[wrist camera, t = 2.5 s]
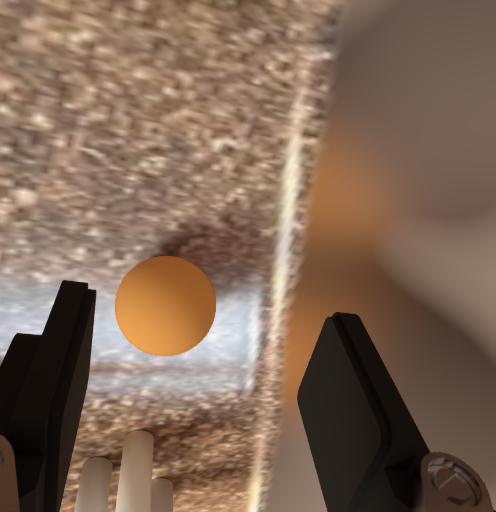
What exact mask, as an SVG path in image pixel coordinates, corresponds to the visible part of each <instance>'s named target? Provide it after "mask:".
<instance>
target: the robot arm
mask: <svg viewBox="0 0 496 512" xmlns="http://www.w3.org/2000/svg"><path fill="white" fill-rule="evenodd" d="M95 303H96V290H91V289H88V283H84V282H75V281H67V280H63V281H62V283H61V286H60V289H59V291H58V294H57V297H56V299H55V302H54V304H53V307H52V310H51V312H50V315H49V318H48V320H47V323H46V326H45V328H44V331H43V333H42V335H33V334H22V333H17V334H16V335H15V336H14V338H13V340H12V342H11V344H10V346H9V349H8V351H7V353H6V355H5V357H4V360H3V362H2V364H1V366H0V512H59V511H60V507H61V502H62V498H63V493H64V489H65V484H66V480H67V475H68V471H69V466H70V462H71V457H72V453H73V448H74V444H75V439H76V435H77V430H78V426H79V421H80V417H81V412H82V408H83V403H84V399H85V394H86V390H87V384H88V378H89V369H90V358H91V347H92V336H93V325H94V314H95ZM297 400H298V406H299V409H300V413H301V417H302V420H303V424H304V428H305V431H306V435H307V439H308V442H309V446H310V450H311V453H312V457H313V460H314V464H315V468H316V471H317V474H318V479H319V482H320V486H321V489H322V493H323V497H324V500H325V504H326V507H327V511H328V512H496V511H495V510H493V507H492V503H491V499H490V495H489V492H488V490H487V488H486V485H485V483H484V482H483V480H482V479H481V478H480V476H479V475H478V473H476V472H475V471H474V470H473V469H472V468H471V467H470V466H469V465H468V464H466V463H465V462H464V461H462V460H461V459H459V458H457V457H455V456H453V455H450V454H447V453H442V452H431V453H430V451H429V449H428V447H427V445H426V443H425V441H424V440H423V437H422V436H421V434H420V432H419V430H418V428H417V426H416V424H415V423H414V420H413V418H412V416H411V415H410V413H409V411H408V409H407V407H406V405H405V403H404V402H403V399H402V398H401V395H400V394H399V392H398V390H397V388H396V386H395V384H394V382H393V380H392V378H391V377H390V374H389V373H388V371H387V369H386V367H385V365H384V363H383V361H382V359H381V357H380V355H379V353H378V352H377V350H376V348H375V346H374V344H373V342H372V340H371V338H370V336H369V335H368V332H367V331H366V329H365V327H364V325H363V323H362V321H361V319H360V317H359V316H358V315H356V314H350V313H340V312H336V313H334V314H333V316H332V317H327V318H326V320H325V322H324V325H323V327H322V330H321V333H320V335H319V338H318V340H317V343H316V346H315V348H314V351H313V353H312V356H311V359H310V361H309V364H308V367H307V369H306V372H305V374H304V377H303V379H302V382H301V385H300V387H299V390H298V396H297Z"/></svg>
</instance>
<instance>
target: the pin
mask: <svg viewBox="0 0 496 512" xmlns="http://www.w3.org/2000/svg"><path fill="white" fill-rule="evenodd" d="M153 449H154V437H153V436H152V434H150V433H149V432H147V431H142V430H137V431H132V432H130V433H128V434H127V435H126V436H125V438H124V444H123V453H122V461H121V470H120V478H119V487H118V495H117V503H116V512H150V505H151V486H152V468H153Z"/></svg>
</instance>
